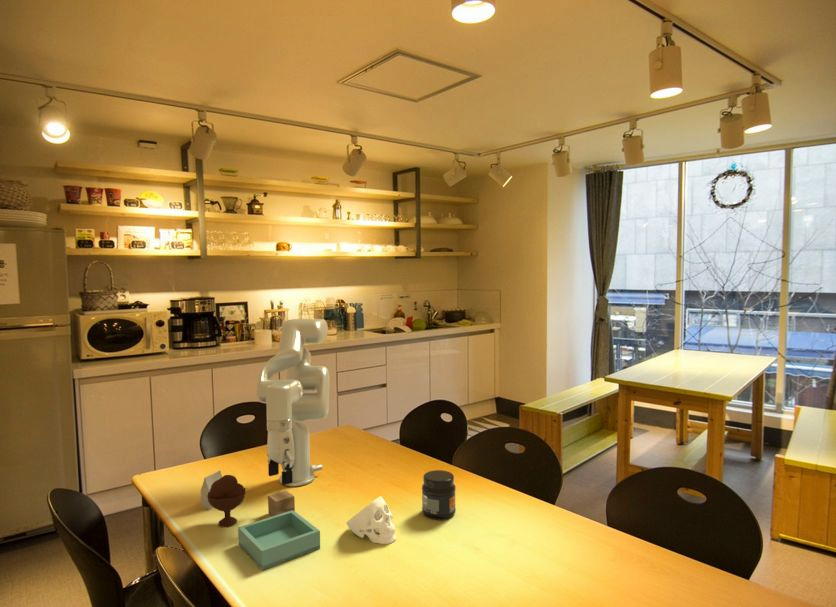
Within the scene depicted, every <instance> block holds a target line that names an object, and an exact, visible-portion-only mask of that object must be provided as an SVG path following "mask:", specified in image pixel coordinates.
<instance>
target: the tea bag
mask: <svg viewBox="0 0 836 607" xmlns="http://www.w3.org/2000/svg"><path fill="white" fill-rule="evenodd" d="M222 477H223V474H222V473H221V470H218V471H216V472H214V473H212V474H210V475H207V476H206V477H204V479H203V482H202V485H201V488H200V500H201V501H200V504H201V509H207V510H212V509H215V508H214V507H212V506H211V505H210V503H209V502H208V498H207V496H208V492H210V488H211V486H212V484H213V483H214V482H215V481H216V480H218V479H220V478H222Z"/></svg>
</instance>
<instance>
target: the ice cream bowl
mask: <svg viewBox="0 0 836 607" xmlns="http://www.w3.org/2000/svg"><path fill="white" fill-rule="evenodd" d="M246 490H247V489H246V487H244V486H243V484H241V483H239V481H238V479H237V478H236V476H234V475H232V474H225V475H222V478H220V479H218V480H216V481H215V482H214V483H213V484H212V486H211V488H210V492H208V496H207V498H208V502H209V503H210V505H211V506H212V507H214V508H213V509H216V510H218V511H220V512H223V513H224V517H223V518H222V519H220V520H219V521H218V524H217V525H218V527H220V528H230V527H234V526H235V525H236V524H238V519H237V518H235V517H233V516H231V512H232V511H233V510H234V509H236V508H237V507H239V506H240V505H241V504H242V503H243V502H244V499H245V496H246Z"/></svg>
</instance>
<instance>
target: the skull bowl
mask: <svg viewBox="0 0 836 607" xmlns="http://www.w3.org/2000/svg"><path fill="white" fill-rule="evenodd" d="M393 516H394V515H393V513H392V512H391V510H390V508H389V505H388V503H386V501H385V500H384V498H383V496H381V495H380V496H378V497H377V498H375V499H374V500H373V501H372V502H370V503H369V504H367V505H366V506H365V507H363V508H362V509H361V510H360V511H359V512H358V513H356V514H355V515H353V516H352V517H351V518H350V519H349V520H348V521H346V526H347V527H348V529H349V530H351V531H352V533H353V534H354V535H356V536H358V537H359V538H361V539H362V538H364V537H365V535H366V536H367V537H368V539H369V540H370V541H371V542H372V543H374V544H379V545H389V544H390V545H391V544H392V543H394V542H395V541H396V540H397V535H396V534H395V532H396V527H395V524H394V523H392V519H393ZM375 532H377V533H379V534H377V533H375Z"/></svg>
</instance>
